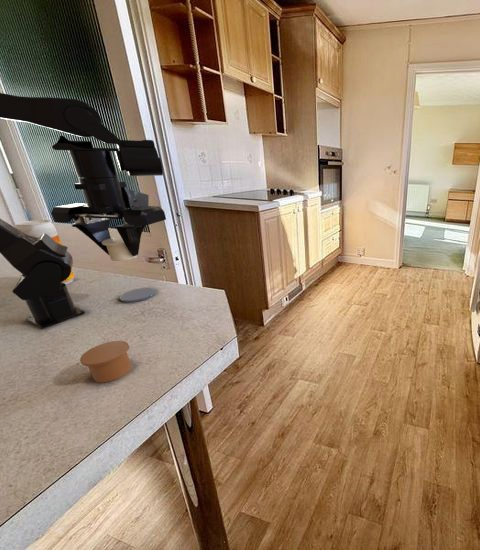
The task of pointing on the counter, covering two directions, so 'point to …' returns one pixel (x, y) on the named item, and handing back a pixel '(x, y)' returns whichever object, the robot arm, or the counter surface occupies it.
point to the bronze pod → (107, 361)
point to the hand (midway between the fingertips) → (123, 255)
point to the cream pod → (117, 249)
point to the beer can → (38, 229)
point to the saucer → (137, 295)
